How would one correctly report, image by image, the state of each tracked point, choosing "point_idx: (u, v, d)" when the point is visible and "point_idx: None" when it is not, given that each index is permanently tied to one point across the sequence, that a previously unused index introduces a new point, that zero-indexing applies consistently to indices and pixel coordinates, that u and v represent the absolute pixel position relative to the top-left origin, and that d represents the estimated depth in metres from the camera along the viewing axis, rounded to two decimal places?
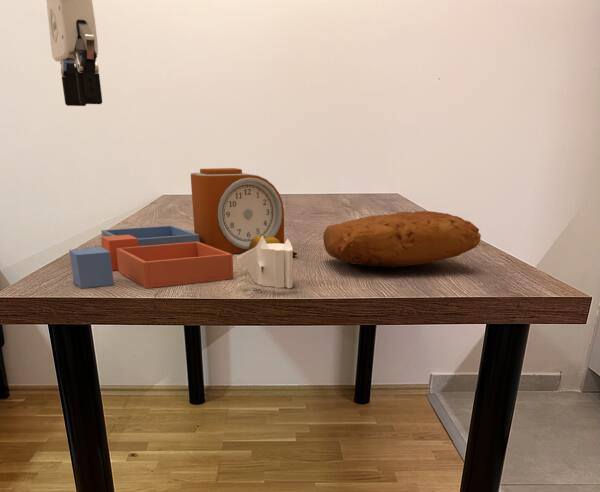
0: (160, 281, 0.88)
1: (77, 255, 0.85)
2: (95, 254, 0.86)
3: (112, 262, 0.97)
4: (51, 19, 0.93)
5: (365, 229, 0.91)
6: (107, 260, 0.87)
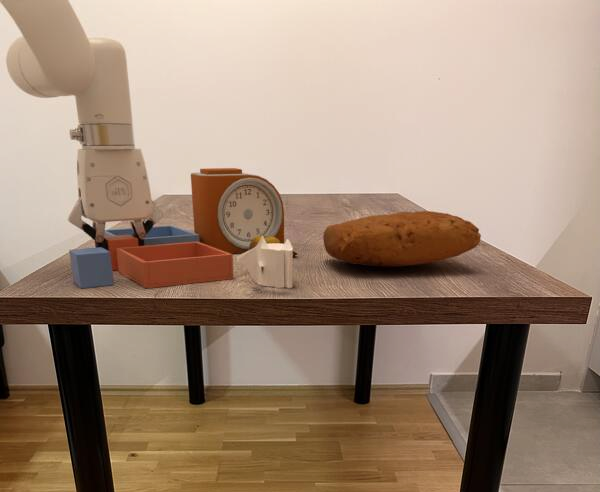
0: (160, 281, 0.88)
1: (77, 255, 0.85)
2: (95, 254, 0.86)
3: (112, 262, 0.97)
4: (110, 184, 0.92)
5: (365, 229, 0.91)
6: (107, 260, 0.87)
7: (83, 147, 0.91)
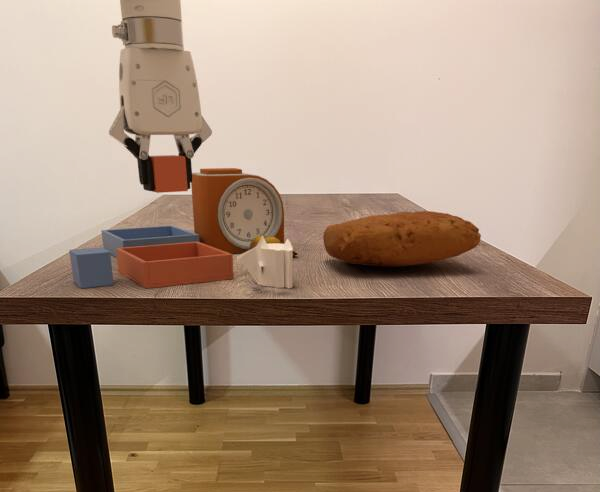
0: (160, 281, 0.88)
1: (77, 255, 0.85)
2: (95, 254, 0.86)
3: (157, 183, 0.87)
4: (157, 90, 0.82)
5: (365, 229, 0.91)
6: (107, 260, 0.87)
7: (127, 47, 0.81)
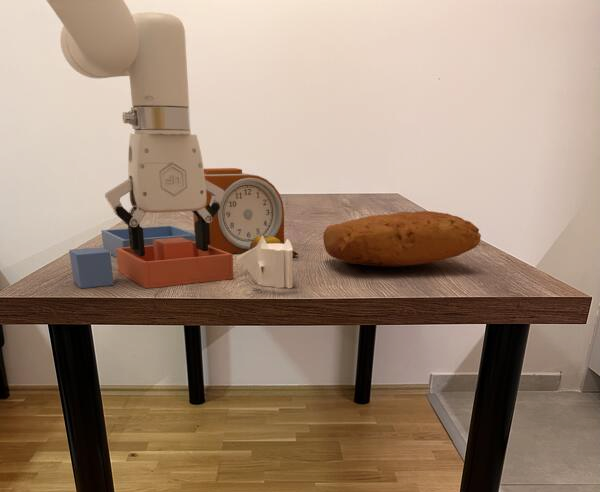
0: (160, 281, 0.88)
1: (77, 255, 0.85)
2: (95, 254, 0.86)
3: None
4: (164, 172, 0.86)
5: (365, 229, 0.91)
6: (107, 260, 0.87)
7: (136, 132, 0.85)
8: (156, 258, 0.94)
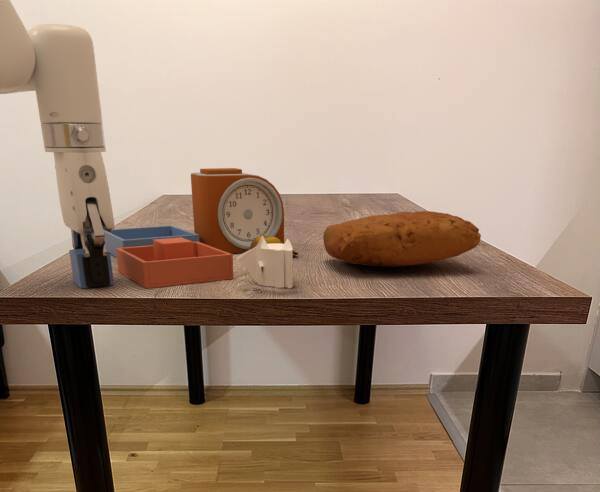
0: (160, 281, 0.88)
1: (77, 255, 0.85)
2: None
3: None
4: None
5: (365, 229, 0.91)
6: None
7: (84, 150, 0.79)
8: (156, 258, 0.94)
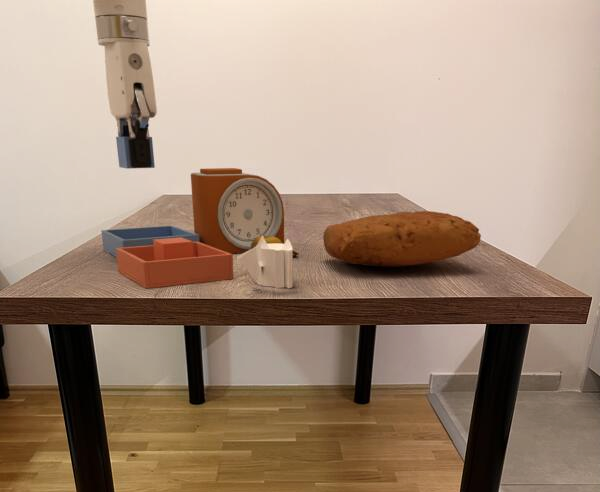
0: (160, 281, 0.88)
1: (124, 137, 0.98)
2: None
3: None
4: None
5: (365, 229, 0.91)
6: None
7: (133, 40, 0.93)
8: (156, 258, 0.94)
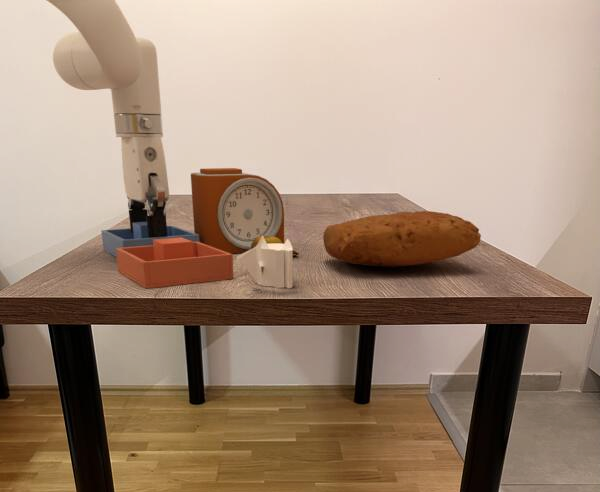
0: (160, 281, 0.88)
1: (141, 226, 1.07)
2: None
3: None
4: None
5: (365, 229, 0.91)
6: None
7: (148, 135, 1.01)
8: (156, 258, 0.94)
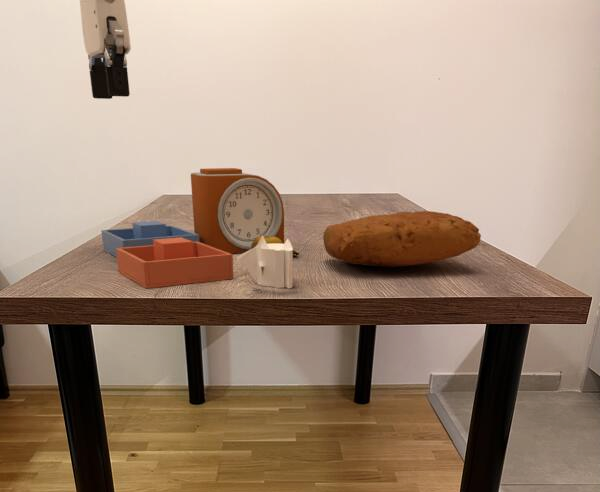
0: (160, 281, 0.88)
1: (141, 226, 1.07)
2: (154, 225, 1.08)
3: None
4: None
5: (365, 229, 0.91)
6: (163, 230, 1.09)
7: None
8: (156, 258, 0.94)
